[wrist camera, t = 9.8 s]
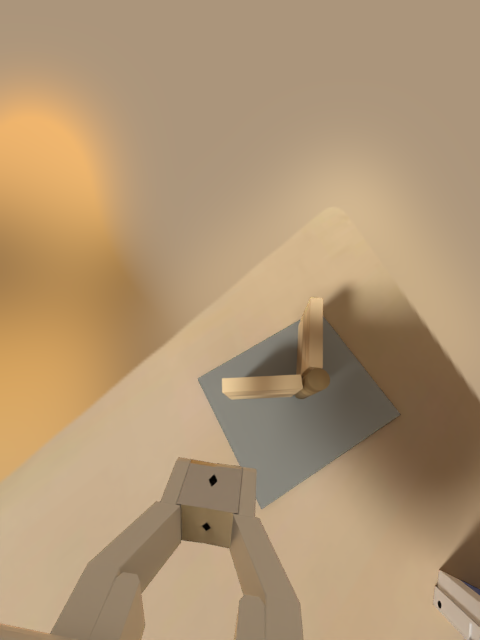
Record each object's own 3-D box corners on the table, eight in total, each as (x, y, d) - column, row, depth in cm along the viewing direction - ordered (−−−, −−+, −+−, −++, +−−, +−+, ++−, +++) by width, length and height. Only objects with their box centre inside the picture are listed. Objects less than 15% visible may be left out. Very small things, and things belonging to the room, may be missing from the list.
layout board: (398, 414, 27) (400, 414, 27) (261, 508, 25) (261, 509, 25) (317, 310, 33) (318, 309, 32) (198, 379, 30) (197, 378, 30)
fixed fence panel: (308, 400, 28) (330, 391, 20) (292, 398, 28) (307, 388, 20) (310, 327, 32) (329, 292, 23) (295, 325, 32) (309, 291, 23)
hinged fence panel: (289, 386, 29) (301, 374, 21) (291, 396, 28) (302, 388, 21) (231, 389, 29) (221, 378, 22) (231, 399, 29) (222, 392, 21)
